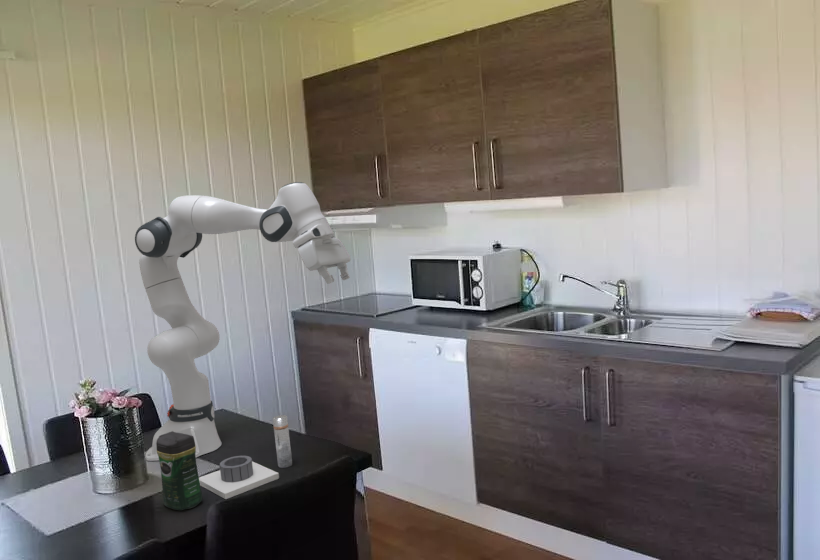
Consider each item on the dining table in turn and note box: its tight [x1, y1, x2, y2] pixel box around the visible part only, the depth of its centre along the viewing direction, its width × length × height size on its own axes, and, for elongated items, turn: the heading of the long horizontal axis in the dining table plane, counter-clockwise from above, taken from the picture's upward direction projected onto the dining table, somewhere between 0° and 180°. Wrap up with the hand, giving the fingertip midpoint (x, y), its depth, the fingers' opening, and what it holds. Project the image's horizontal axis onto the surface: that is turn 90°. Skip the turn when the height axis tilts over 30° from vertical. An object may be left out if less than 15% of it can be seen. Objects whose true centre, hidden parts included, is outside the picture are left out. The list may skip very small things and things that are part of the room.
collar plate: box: [199, 455, 280, 500], centre depth 190 cm, size 16×16×6 cm
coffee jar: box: [156, 431, 203, 511], centre depth 177 cm, size 10×8×19 cm
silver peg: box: [272, 414, 293, 469], centre depth 198 cm, size 4×4×14 cm
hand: (339, 280), depth 190 cm, fingers open, 8 cm apart
